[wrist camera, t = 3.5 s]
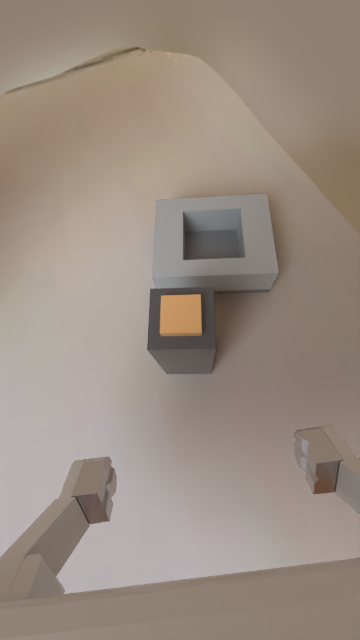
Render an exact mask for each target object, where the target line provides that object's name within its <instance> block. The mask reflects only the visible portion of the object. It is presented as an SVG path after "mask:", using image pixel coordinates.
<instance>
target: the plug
mask: <svg viewBox="0 0 360 640" xmlns="http://www.w3.org/2000/svg"><path fill="white" fill-rule="evenodd" d="M147 350H148V351H149V352H150V354H151V355H152V356H153V357H154V359H155V360H156V361H157V362H158V364H159V365H160V366H161V367H162V368H163V370H164V371H165V372H166V373H167V374H211V372H212V367H213V362H214V357H215V352H216V335H215V313H214V292H213V287H189V288H160V289H150V307H149V327H148V347H147Z"/></svg>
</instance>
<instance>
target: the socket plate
mask: <svg viewBox="0 0 360 640" xmlns="http://www.w3.org/2000/svg"><path fill="white" fill-rule="evenodd" d="M278 274H279V270H278V263H277V257H276V250H275V243H274V237H273V230H272V223H271V217H270V210H269V203H268V196H267V193H263V194H246V195H229V196H213V197H196V198H179V199H163V200H156V220H155V241H154V263H153V280H154V282H155V285H156V288H157V289H160V288H189V287H213V292H214V293H234V292H265V291H270V289H271V287H272V285H273V283H274V281H275V279H276V277H277V276H278Z"/></svg>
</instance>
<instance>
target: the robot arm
mask: <svg viewBox="0 0 360 640" xmlns="http://www.w3.org/2000/svg"><path fill="white" fill-rule="evenodd" d="M294 437H295V439H296V442H295V443H294V452H295V456H296V459H297V462H298V464H299V466H300V468H301V469H303V470H304V471H305V472H306V477H305V478H306V480H307V482H308V484H309V486H310V488H311V490H312V492H313V494H322V493H332V492H335V493H336V494H337V495H338V496H339V497H340V498H341V499H342V500H344V501H345V502H346V503H347V504H348V505H349V506H351V507H352V508H353V509H354V510H355V511H356V512H358V513H359V514H360V459H357V457H356V456H355V455H354V453H353V452H352V451H351V449H350V448H349V447H348V445H347V444H346V443H345V441H344V440H343V439H342V437H341V436H340V435H339V433H338V432H337V431H336V429H335V428H334V427H333V426H332V425H329V426H322V427H313V428H307V429H300V430H296V431H295V434H294ZM111 463H112V461H111V459H110V457H101V458H92V459H84V460H76V461H74V462H73V464H72V465H71V468H70V471H69V473H68V476H67V478H66V481H65V484H64V486H63V489H62V491H61V494H60V497H59V499H55V500H54V501H53V502H52V503H51V504H50V506H49V507H48V508H47V509H46V510H45V511H44V512H43V513H42V514H41V515H40V516H39V517H38V518H37V519H36V520H35V521H34V523H33V524H32V525H31V526H30V527H29V528H28V529H27V530H26V531H25V532H24V533H23V534H22V535H21V536H20V537H19V538H18V539H17V541H16V542H15V543H14V544H13V545H12V546H11V547H10V548H9V549H8V550H7V551H6V552H5V553H4V554H3V555H2V556H1V558H0V640H360V558H355V559H347V560H339V561H331V562H322V563H314V564H306V565H298V566H290V567H281V568H273V569H265V570H257V571H249V572H241V573H232V574H224V575H216V576H208V577H200V578H192V579H183V580H175V581H167V582H159V583H151V584H143V585H135V586H127V587H118V588H110V589H102V590H94V591H86V592H78V593H70V594H64V592H65V590H64V588H63V586H62V584H61V583H60V582H59V580H58V579H57V577H56V576H57V574H58V573H59V571H60V570H61V568H62V567H63V565H64V564H65V562H66V561H67V559H68V558H69V556H70V555H71V553H72V552H73V550H74V549H75V547H76V546H77V544H78V543H79V541H80V539H81V538H82V536H83V535H84V533H85V532H86V530H87V529H88V527H89V524H95V523H101V522H107V521H110V517H111V512H112V507H113V502H112V500H111V497H112V496H113V495H114V494H115V491H116V484H117V477H116V472H115V469H114V468H113V467H111Z"/></svg>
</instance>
